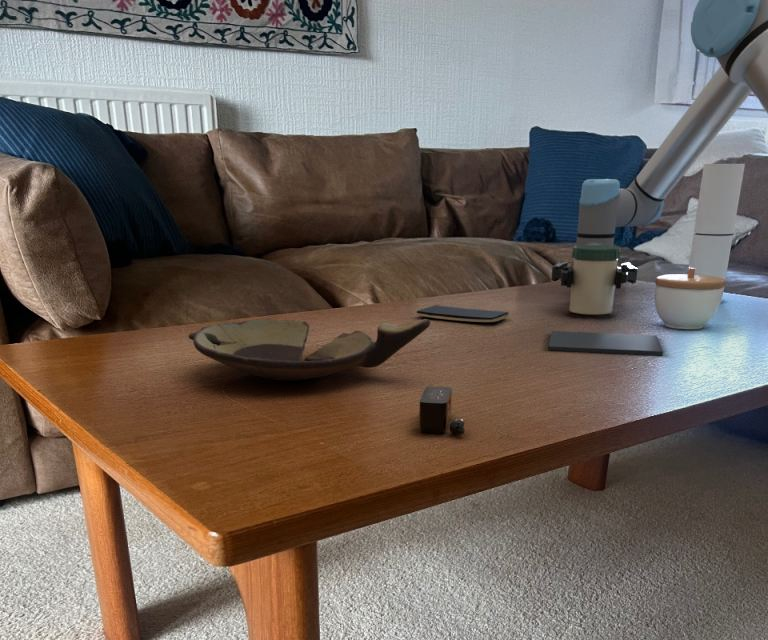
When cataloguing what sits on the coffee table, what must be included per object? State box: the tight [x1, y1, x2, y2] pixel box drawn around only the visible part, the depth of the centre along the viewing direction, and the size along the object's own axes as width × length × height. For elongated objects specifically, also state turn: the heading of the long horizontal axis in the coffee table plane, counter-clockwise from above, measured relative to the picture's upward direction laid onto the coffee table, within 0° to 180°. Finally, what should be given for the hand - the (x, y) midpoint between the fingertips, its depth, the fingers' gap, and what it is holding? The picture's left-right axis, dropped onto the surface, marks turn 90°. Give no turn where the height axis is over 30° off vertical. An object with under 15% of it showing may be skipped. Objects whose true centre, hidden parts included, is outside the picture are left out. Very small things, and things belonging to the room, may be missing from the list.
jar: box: [568, 258, 619, 315], centre depth 139 cm, size 8×8×10 cm
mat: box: [547, 330, 664, 356], centre depth 118 cm, size 16×12×1 cm
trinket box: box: [654, 267, 726, 330], centre depth 129 cm, size 11×11×9 cm
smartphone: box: [416, 304, 510, 323], centre depth 138 cm, size 7×1×15 cm
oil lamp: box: [188, 318, 431, 382], centre depth 99 cm, size 22×30×8 cm
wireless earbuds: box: [418, 385, 465, 435], centre depth 80 cm, size 5×7×3 cm, turn 170°
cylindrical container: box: [687, 163, 746, 303], centre depth 151 cm, size 7×7×25 cm
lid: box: [571, 245, 622, 260], centre depth 137 cm, size 8×8×2 cm
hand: (594, 279), depth 134 cm, fingers closed on jar, 8 cm apart
